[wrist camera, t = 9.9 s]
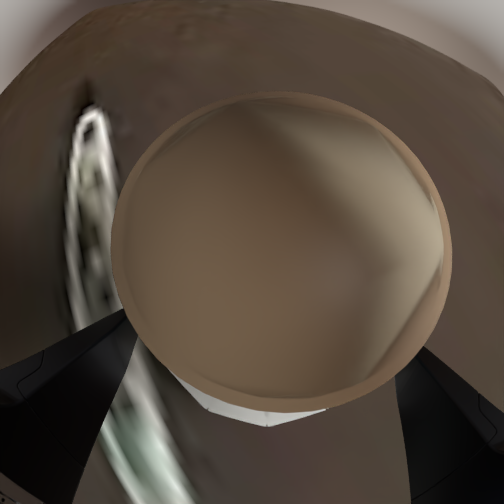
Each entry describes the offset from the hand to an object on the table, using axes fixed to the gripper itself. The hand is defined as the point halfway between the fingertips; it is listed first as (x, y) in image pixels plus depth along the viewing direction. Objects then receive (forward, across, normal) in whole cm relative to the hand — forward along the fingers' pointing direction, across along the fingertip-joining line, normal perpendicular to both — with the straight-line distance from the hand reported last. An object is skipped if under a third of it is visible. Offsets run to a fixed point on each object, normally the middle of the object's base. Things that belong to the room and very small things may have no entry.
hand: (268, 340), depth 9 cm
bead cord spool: (+7, 0, +4) cm, 8 cm away
